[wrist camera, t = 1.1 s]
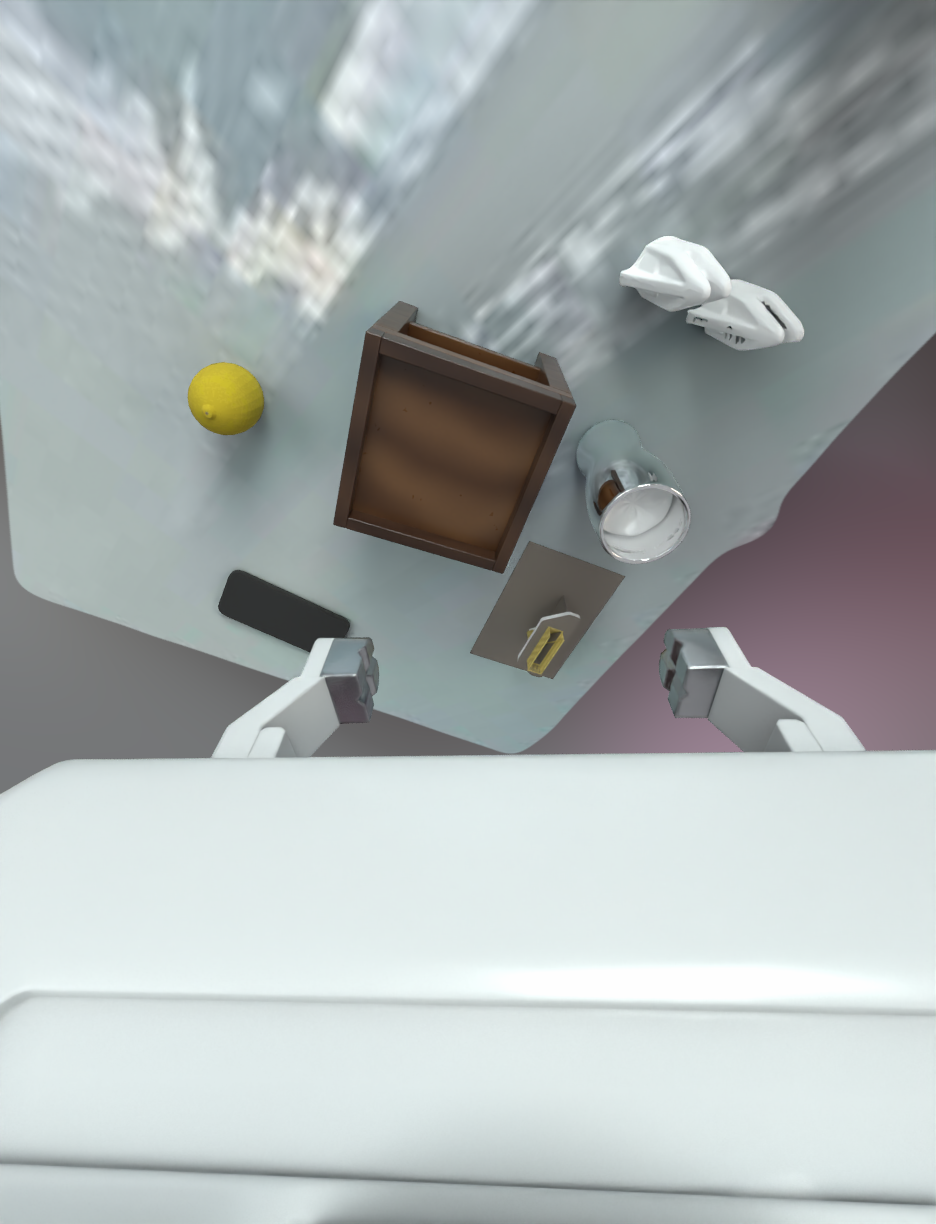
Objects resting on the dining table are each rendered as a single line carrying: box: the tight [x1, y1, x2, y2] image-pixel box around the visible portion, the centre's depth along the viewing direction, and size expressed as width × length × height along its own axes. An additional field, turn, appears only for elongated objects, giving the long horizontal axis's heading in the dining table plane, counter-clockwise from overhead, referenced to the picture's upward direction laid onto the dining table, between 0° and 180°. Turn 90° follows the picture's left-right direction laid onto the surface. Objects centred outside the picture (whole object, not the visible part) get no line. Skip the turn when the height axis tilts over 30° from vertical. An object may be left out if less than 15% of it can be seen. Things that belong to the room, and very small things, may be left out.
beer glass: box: [576, 420, 691, 564], centre depth 43 cm, size 7×7×15 cm
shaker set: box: [619, 236, 804, 351], centre depth 36 cm, size 12×4×11 cm, turn 66°
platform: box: [470, 541, 625, 679], centre depth 59 cm, size 12×18×7 cm, turn 159°
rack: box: [333, 301, 576, 574], centre depth 42 cm, size 14×14×14 cm
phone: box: [218, 570, 350, 652], centre depth 63 cm, size 7×1×15 cm
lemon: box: [188, 362, 264, 435], centre depth 43 cm, size 6×6×8 cm
